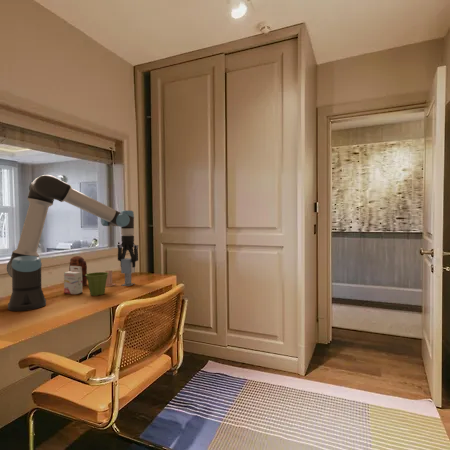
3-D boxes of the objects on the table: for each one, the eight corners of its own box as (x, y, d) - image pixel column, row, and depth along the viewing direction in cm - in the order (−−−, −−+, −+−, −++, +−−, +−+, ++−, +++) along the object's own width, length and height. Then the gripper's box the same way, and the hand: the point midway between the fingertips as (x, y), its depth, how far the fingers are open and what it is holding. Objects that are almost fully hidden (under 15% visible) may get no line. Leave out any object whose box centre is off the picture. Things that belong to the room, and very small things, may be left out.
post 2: (129, 286, 189) (129, 271, 188) (121, 285, 190) (121, 271, 190) (135, 284, 194) (134, 269, 194) (126, 283, 196) (126, 269, 196)
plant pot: (109, 290, 177) (109, 271, 176) (108, 295, 165) (108, 275, 165) (86, 292, 173) (86, 272, 172) (84, 297, 162) (84, 276, 161)
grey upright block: (129, 273, 189) (129, 259, 188) (121, 273, 190) (121, 259, 190) (134, 272, 194) (134, 258, 194) (126, 271, 196) (126, 258, 195)
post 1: (110, 286, 188) (109, 271, 187) (101, 285, 189) (101, 271, 189) (116, 284, 193) (115, 270, 193) (107, 283, 195) (107, 269, 195)
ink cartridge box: (63, 293, 171) (63, 267, 170) (70, 291, 176) (70, 265, 175) (76, 294, 169) (76, 267, 168) (82, 292, 173) (82, 266, 173)
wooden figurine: (65, 286, 189) (65, 256, 188) (71, 283, 195) (71, 255, 195) (84, 286, 188) (83, 257, 188) (89, 284, 194) (89, 255, 194)
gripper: (144, 235, 193) (144, 271, 193) (118, 234, 198) (118, 270, 198) (137, 235, 185) (138, 274, 186) (110, 235, 190) (111, 272, 191)
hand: (128, 272), depth 192 cm, fingers closed on grey upright block, 6 cm apart
